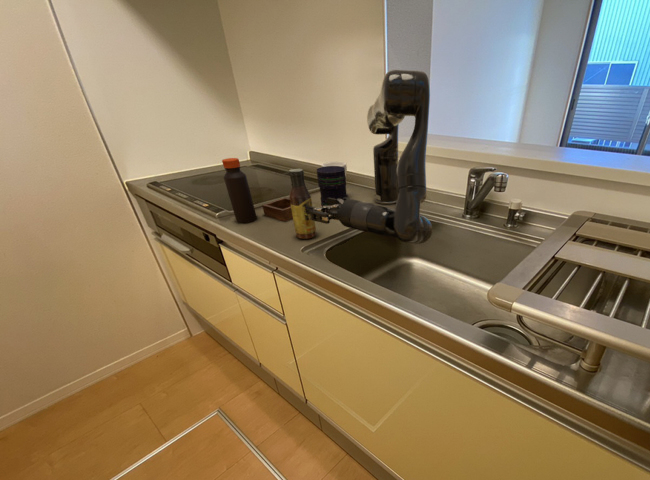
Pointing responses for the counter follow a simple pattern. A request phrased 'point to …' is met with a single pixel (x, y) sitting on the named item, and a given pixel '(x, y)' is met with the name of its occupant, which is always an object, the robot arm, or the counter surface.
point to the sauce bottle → (301, 205)
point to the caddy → (279, 209)
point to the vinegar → (238, 191)
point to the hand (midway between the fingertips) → (317, 205)
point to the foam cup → (335, 165)
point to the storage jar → (331, 183)
